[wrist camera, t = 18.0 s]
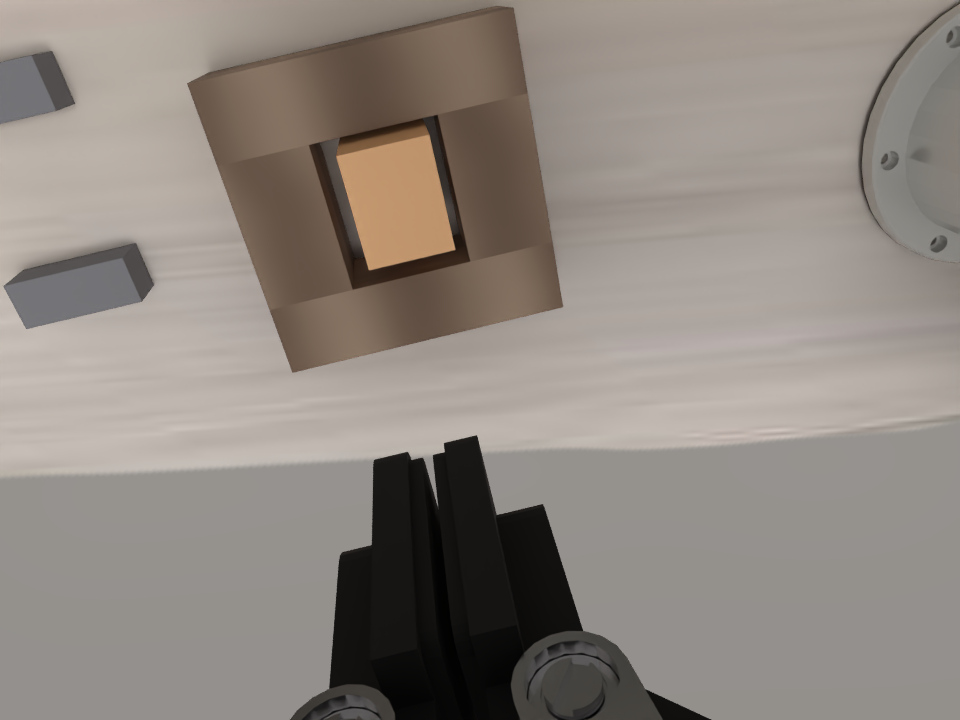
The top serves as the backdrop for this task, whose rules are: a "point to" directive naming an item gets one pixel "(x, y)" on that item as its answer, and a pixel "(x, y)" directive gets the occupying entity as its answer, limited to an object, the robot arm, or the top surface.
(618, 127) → the top surface
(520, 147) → the port block
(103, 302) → the grey block stand
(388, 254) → the plug
